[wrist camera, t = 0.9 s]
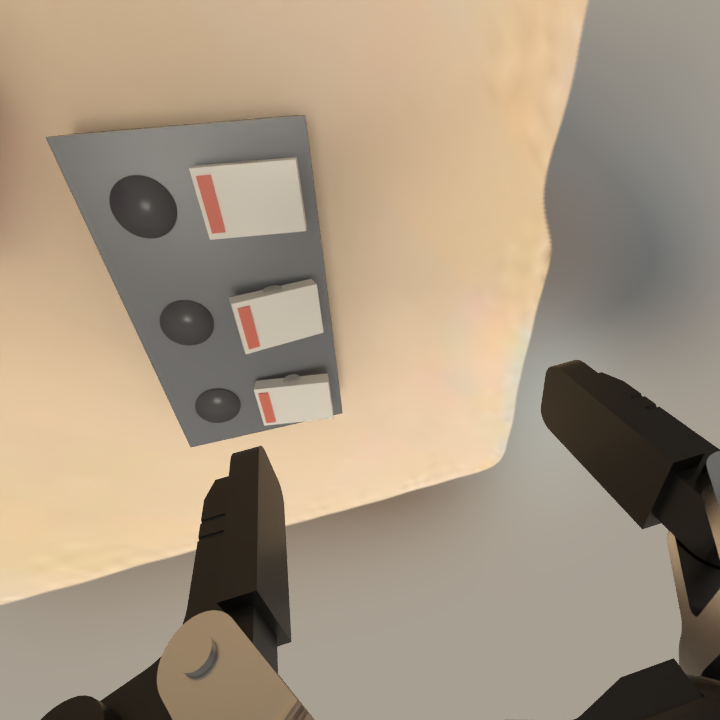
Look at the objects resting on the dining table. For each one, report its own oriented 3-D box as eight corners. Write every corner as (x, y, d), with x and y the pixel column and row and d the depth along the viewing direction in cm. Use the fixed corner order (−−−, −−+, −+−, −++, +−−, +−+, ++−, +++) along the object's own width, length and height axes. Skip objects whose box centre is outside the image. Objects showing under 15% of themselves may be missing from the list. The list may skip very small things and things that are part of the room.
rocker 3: (266, 413, 34) (264, 426, 32) (256, 377, 31) (253, 390, 30) (333, 406, 34) (333, 419, 32) (327, 370, 31) (328, 383, 30)
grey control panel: (195, 418, 37) (190, 449, 33) (73, 134, 23) (43, 137, 20) (334, 388, 39) (342, 414, 36) (297, 115, 26) (305, 115, 22)
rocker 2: (241, 344, 28) (246, 355, 27) (227, 295, 26) (231, 305, 25) (316, 323, 30) (324, 333, 29) (309, 276, 28) (317, 284, 26)
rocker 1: (216, 232, 25) (209, 240, 23) (196, 164, 22) (188, 168, 21) (307, 224, 25) (305, 231, 23) (297, 156, 22) (295, 159, 21)
